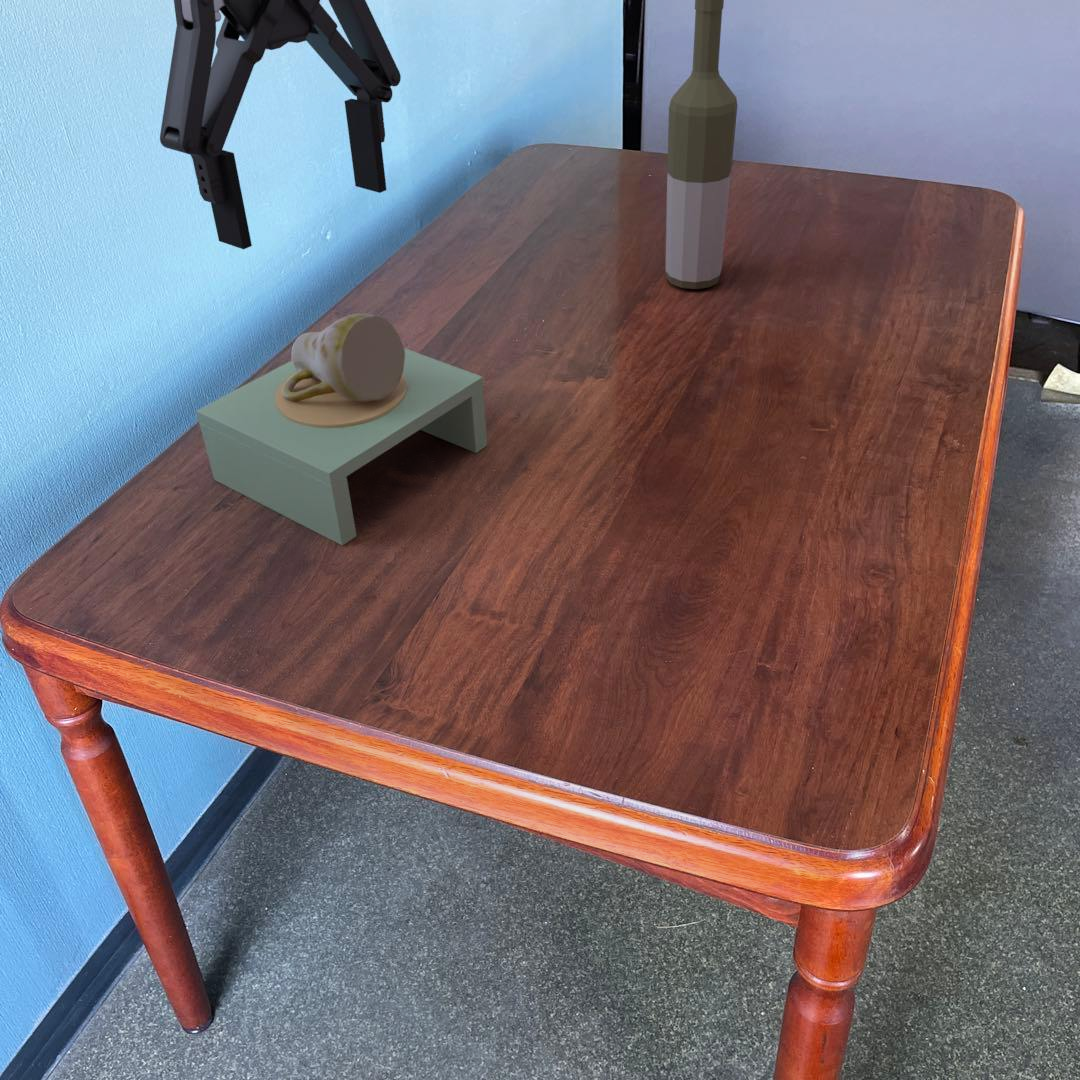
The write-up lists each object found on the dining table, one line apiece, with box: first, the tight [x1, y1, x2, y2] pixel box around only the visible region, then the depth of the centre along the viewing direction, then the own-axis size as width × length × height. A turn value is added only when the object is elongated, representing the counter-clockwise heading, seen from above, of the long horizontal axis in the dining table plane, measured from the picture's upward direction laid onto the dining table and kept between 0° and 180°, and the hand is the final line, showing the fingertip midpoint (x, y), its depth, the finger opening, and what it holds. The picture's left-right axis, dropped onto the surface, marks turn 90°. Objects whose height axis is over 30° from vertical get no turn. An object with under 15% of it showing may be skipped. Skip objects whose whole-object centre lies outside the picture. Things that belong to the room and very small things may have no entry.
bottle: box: [664, 0, 738, 290], centre depth 113 cm, size 7×7×30 cm
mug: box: [282, 312, 405, 402], centre depth 89 cm, size 8×10×10 cm
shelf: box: [195, 347, 488, 546], centre depth 93 cm, size 16×18×7 cm
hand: (306, 215), depth 81 cm, fingers open, 13 cm apart
